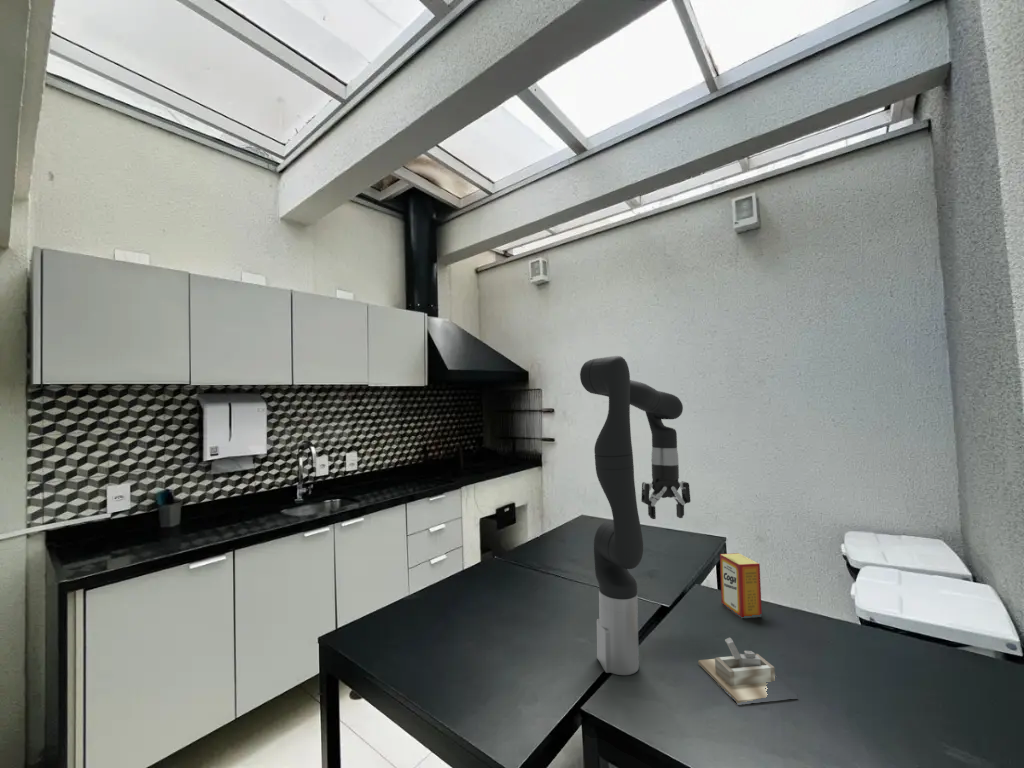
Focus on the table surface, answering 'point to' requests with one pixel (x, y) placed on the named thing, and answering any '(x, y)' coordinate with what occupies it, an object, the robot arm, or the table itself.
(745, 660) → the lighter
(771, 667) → the holder
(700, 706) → the table surface
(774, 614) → the table surface
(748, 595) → the baking soda box
